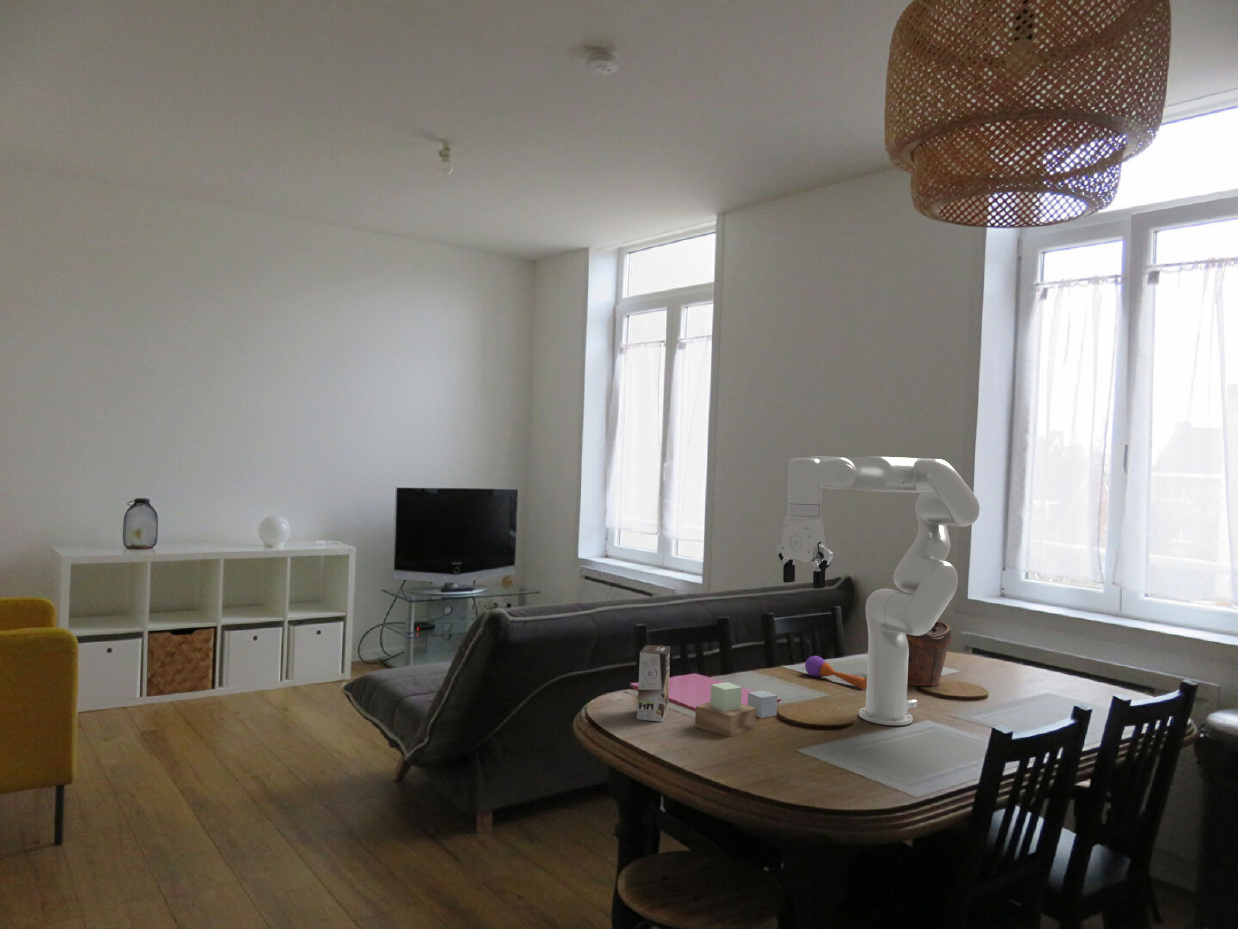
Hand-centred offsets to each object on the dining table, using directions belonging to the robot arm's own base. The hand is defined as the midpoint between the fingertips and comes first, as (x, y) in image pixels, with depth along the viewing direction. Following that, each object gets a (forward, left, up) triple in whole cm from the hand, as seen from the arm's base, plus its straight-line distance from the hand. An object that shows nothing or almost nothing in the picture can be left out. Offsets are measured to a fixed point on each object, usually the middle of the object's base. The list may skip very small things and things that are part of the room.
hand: (803, 585), depth 205 cm
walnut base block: (+14, -9, -34) cm, 38 cm away
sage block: (+14, -9, -29) cm, 34 cm away
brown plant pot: (-65, -17, -34) cm, 75 cm away
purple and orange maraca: (-42, -27, -34) cm, 61 cm away
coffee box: (+24, -24, -34) cm, 48 cm away
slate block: (-1, -13, -34) cm, 36 cm away
